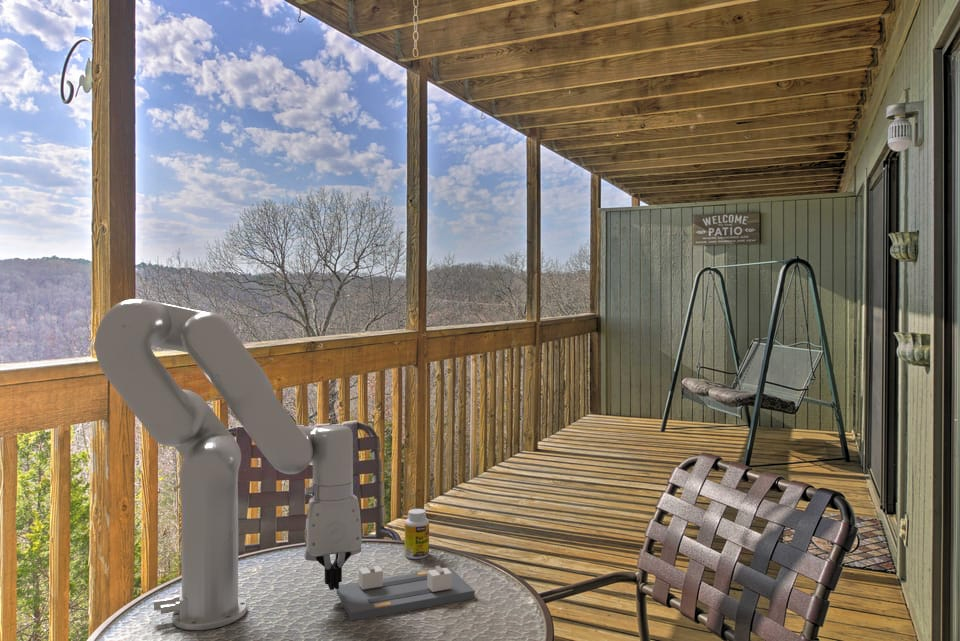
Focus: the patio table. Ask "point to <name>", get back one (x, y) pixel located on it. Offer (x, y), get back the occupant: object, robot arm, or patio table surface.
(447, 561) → the patio table surface
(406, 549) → the supplement bottle
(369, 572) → the tab far
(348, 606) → the switch panel
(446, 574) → the tab near
